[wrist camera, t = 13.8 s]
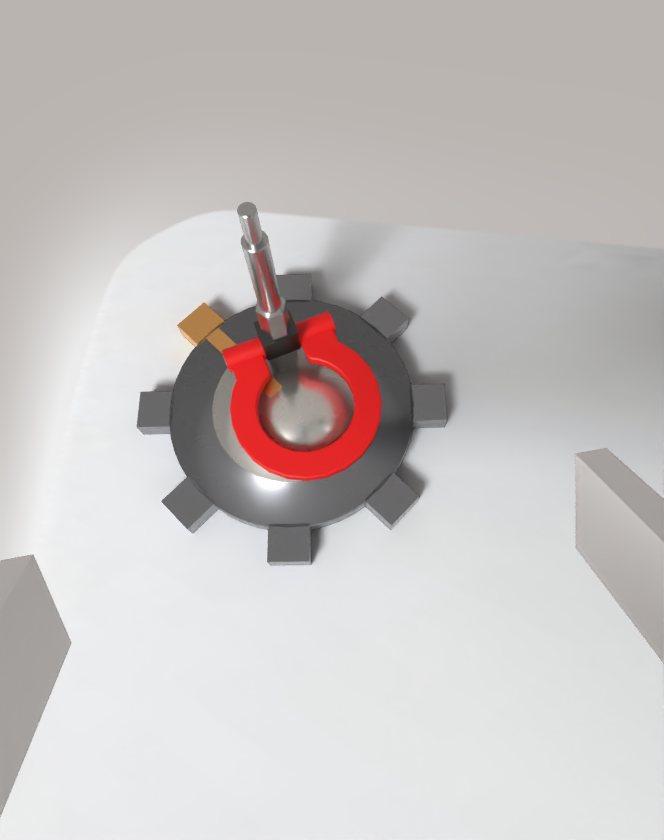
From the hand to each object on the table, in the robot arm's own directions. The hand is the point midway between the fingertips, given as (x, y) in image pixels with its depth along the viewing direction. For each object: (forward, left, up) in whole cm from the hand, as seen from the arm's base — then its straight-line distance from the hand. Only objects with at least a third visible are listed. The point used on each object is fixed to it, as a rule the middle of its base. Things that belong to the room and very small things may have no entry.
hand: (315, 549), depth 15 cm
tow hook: (+2, -11, -18) cm, 21 cm away
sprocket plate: (+3, -11, -19) cm, 22 cm away
